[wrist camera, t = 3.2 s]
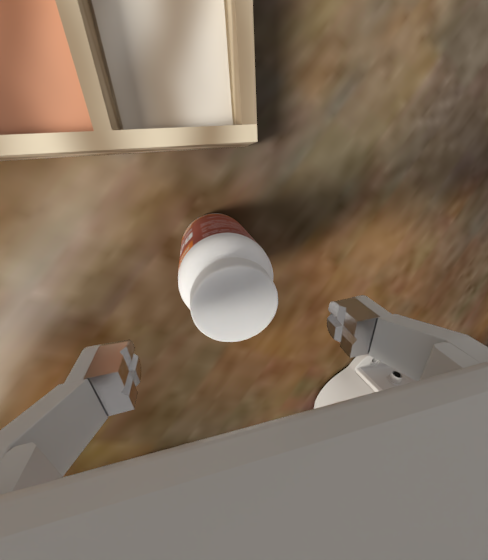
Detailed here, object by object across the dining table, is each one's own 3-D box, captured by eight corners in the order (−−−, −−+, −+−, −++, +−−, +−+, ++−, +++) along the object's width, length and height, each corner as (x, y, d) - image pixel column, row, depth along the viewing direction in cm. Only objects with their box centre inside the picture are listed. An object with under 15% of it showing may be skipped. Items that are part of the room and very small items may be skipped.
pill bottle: (177, 213, 20) (164, 254, 10) (246, 210, 21) (296, 244, 11) (185, 278, 23) (182, 361, 13) (247, 273, 24) (287, 345, 14)
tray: (236, -37, 14) (249, -95, 11) (246, 146, 19) (257, 141, 16) (-141, -65, 11) (-263, -153, 8) (-24, 162, 16) (-77, 160, 13)
